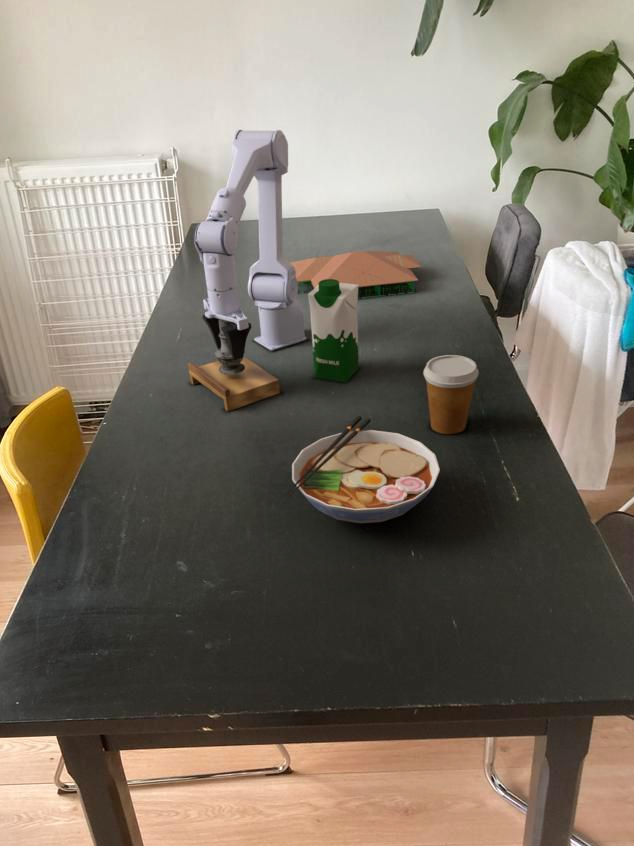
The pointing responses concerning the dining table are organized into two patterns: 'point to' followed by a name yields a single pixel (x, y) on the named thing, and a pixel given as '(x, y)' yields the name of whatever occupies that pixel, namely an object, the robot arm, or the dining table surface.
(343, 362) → the milk carton
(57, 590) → the dining table surface
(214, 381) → the shelf stand
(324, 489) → the ramen bowl
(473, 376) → the disposable coffee cup
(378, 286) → the house
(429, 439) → the dining table surface
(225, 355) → the grey stone finial
